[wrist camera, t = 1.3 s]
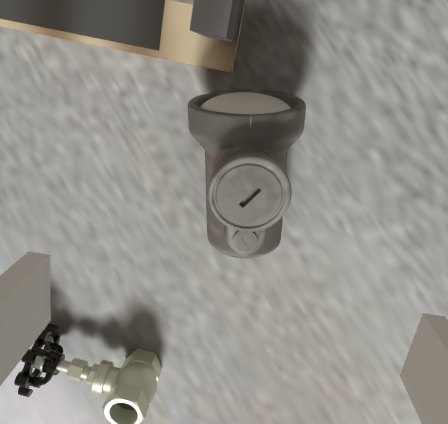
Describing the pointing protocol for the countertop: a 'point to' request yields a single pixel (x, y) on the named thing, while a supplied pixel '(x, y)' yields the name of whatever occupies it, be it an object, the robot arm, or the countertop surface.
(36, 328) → the robot arm
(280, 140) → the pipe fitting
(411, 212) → the countertop surface
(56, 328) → the valve
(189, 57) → the shaft bed
